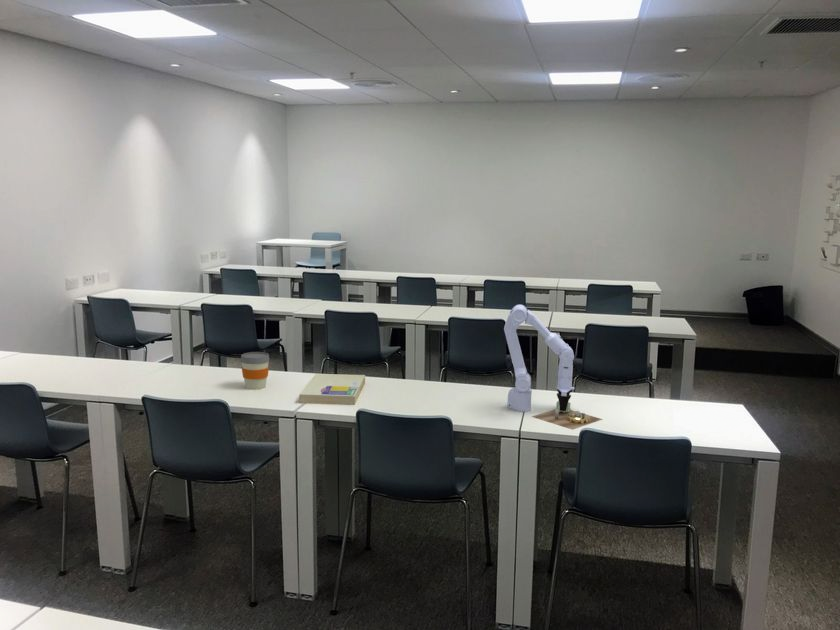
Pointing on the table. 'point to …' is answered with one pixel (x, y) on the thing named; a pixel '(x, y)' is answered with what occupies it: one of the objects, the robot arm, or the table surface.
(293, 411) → the table surface
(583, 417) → the brass gear
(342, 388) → the puzzle box
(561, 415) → the gear board
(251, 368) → the reusable coffee cup
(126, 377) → the table surface
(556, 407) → the pale green gear
